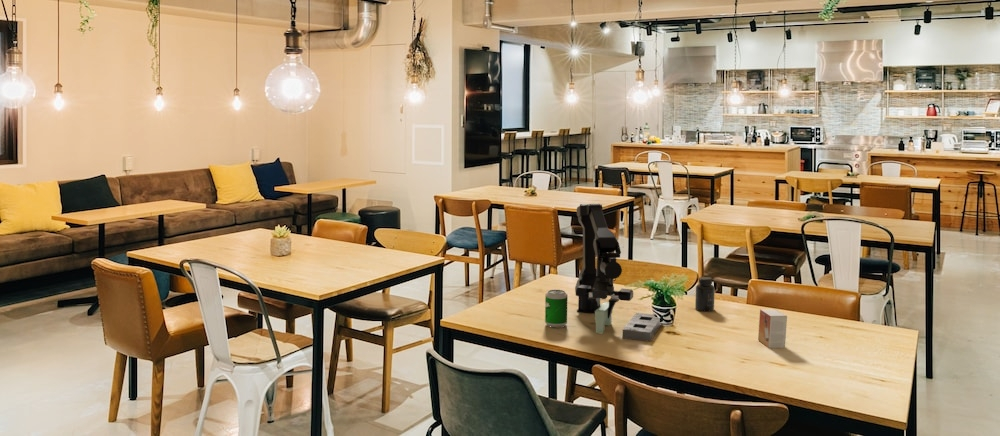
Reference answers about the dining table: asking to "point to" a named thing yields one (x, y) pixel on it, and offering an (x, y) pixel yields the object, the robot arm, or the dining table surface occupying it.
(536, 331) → the dining table surface
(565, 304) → the soda can
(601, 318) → the staple
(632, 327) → the rail
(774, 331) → the small box
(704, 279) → the supplement bottle
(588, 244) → the robot arm
